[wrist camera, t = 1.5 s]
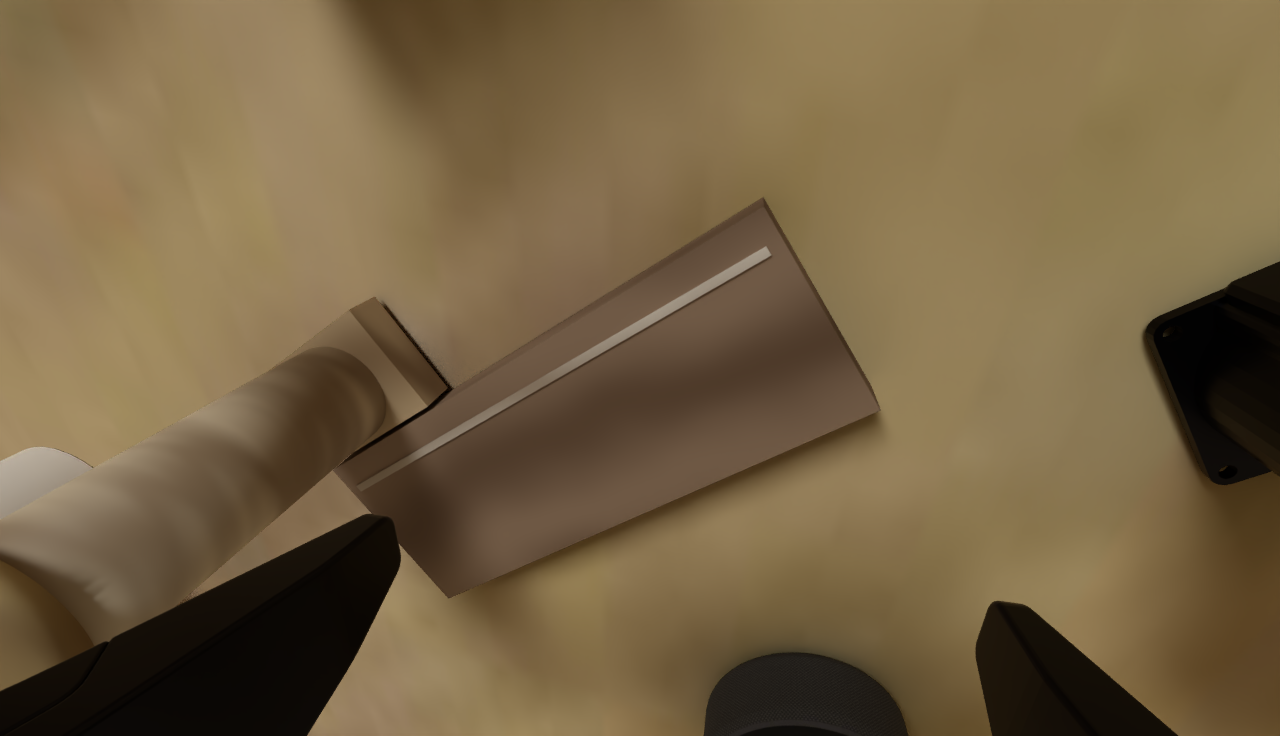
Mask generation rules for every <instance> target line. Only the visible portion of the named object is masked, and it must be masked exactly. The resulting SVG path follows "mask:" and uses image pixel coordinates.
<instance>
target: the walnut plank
mask: <svg viewBox="0 0 1280 736" xmlns="http://www.w3.org/2000/svg"><path fill="white" fill-rule="evenodd" d="M878 411H880V407H879V405H878V402H877V399H876V397H875V394H874V392H873V389H872V387H871V385H870V383H869V381H868V379H867V378H866V376H865V374H864V372H863V371H862V369H861V367H860V365H859V364H858V362H857V360H856V358H855V357H854V355H853V353H852V351H851V350H850V348H849V346H848V344H847V343H846V341H845V339H844V337H843V336H842V334H841V332H840V330H839V329H838V327H837V325H836V323H835V322H834V320H833V318H832V316H831V315H830V313H829V311H828V309H827V308H826V306H825V304H824V302H823V301H822V299H821V297H820V295H819V294H818V292H817V290H816V288H815V287H814V285H813V283H812V281H811V280H810V278H809V276H808V275H807V273H806V271H805V269H804V268H803V266H802V264H801V262H800V261H799V259H798V257H797V255H796V254H795V252H794V250H793V248H792V247H791V245H790V243H789V241H788V240H787V238H786V236H785V234H784V233H783V231H782V229H781V227H780V226H779V224H778V222H777V220H776V219H775V217H774V215H773V213H772V212H771V210H770V208H769V206H768V205H767V203H766V201H765V199H764V198H761V199H760V200H758V201H756V202H755V203H753V204H752V205H750V206H748V207H747V208H745V209H743V210H742V211H740V212H739V213H737V214H735V215H734V216H732V217H731V218H729V219H727V220H726V221H724V222H723V223H721V224H719V225H718V226H716V227H714V228H713V229H711V230H710V231H708V232H706V233H705V234H703V235H702V236H700V237H698V238H697V239H695V240H693V241H692V242H690V243H689V244H687V245H685V246H684V247H682V248H681V249H679V250H677V251H676V252H674V253H672V254H671V255H669V256H668V257H666V258H664V259H663V260H661V261H660V262H658V263H656V264H655V265H653V266H651V267H650V268H648V269H647V270H645V271H643V272H642V273H640V274H639V275H637V276H635V277H634V278H632V279H630V280H629V281H627V282H626V283H624V284H622V285H621V286H619V287H618V288H616V289H614V290H613V291H611V292H609V293H608V294H606V295H605V296H603V297H601V298H600V299H598V300H597V301H595V302H593V303H592V304H590V305H588V306H587V307H585V308H584V309H582V310H580V311H579V312H577V313H576V314H574V315H572V316H571V317H569V318H568V319H566V320H564V321H563V322H561V323H559V324H558V325H556V326H555V327H553V328H551V329H550V330H548V331H547V332H545V333H543V334H542V335H540V336H538V337H537V338H535V339H534V340H532V341H530V342H529V343H527V344H526V345H524V346H522V347H521V348H519V349H517V350H516V351H514V352H513V353H511V354H509V355H508V356H506V357H505V358H503V359H501V360H500V361H498V362H496V363H495V364H493V365H492V366H490V367H488V368H487V369H485V370H484V371H482V372H480V373H479V374H477V375H475V376H474V377H472V378H471V379H469V380H467V381H466V382H464V383H463V384H461V385H459V386H458V387H456V388H454V389H453V390H451V391H450V392H448V393H446V394H445V395H443V396H442V397H440V398H438V399H437V400H435V401H433V402H432V403H431V404H430V405H429V406H428V407H426V408H425V409H423V410H421V411H420V412H418V413H416V414H415V415H413V416H412V417H410V418H408V419H407V420H405V421H403V422H402V423H400V424H399V425H397V426H395V427H394V428H392V429H391V430H389V431H387V432H386V433H384V434H382V435H381V436H379V437H378V438H376V439H374V440H373V441H371V442H370V443H368V444H366V445H365V446H363V447H361V448H360V449H358V450H357V451H355V452H353V453H352V454H351V455H350V456H349V457H348V458H347V459H345V460H344V461H343V462H342V463H341V464H340V465H339V466H337V467H336V468H335V469H334V470H333V471H334V472H335V473H336V474H337V475H338V477H339V478H340V479H341V480H342V481H343V482H344V483H345V484H346V485H347V487H348V488H349V489H350V490H351V491H352V492H353V493H354V494H355V495H356V496H357V498H358V499H359V500H360V501H361V502H362V503H363V504H364V505H365V506H366V508H367V509H368V510H369V511H370V512H371V513H372V514H376V515H383V516H388V517H390V518H392V520H393V521H394V524H395V528H396V533H397V538H398V543H399V544H400V545H401V546H402V547H403V549H404V550H405V551H406V552H407V553H408V554H409V555H410V556H411V557H412V558H413V560H414V561H415V562H416V563H417V564H418V565H419V566H420V567H421V568H422V570H423V571H424V572H425V573H426V574H427V575H428V576H429V577H430V578H431V580H432V581H433V582H434V583H435V584H436V585H437V586H438V587H439V588H440V590H441V591H442V592H443V593H444V594H445V595H446V596H447V597H448V598H451V597H453V596H456V595H458V594H460V593H462V592H465V591H467V590H469V589H472V588H474V587H476V586H478V585H481V584H483V583H485V582H488V581H490V580H492V579H495V578H497V577H499V576H501V575H504V574H506V573H508V572H511V571H513V570H515V569H517V568H520V567H522V566H524V565H527V564H529V563H531V562H534V561H536V560H538V559H540V558H543V557H545V556H547V555H550V554H552V553H554V552H556V551H559V550H561V549H563V548H566V547H568V546H570V545H573V544H575V543H577V542H579V541H582V540H584V539H586V538H589V537H591V536H593V535H595V534H598V533H600V532H602V531H605V530H607V529H609V528H612V527H614V526H616V525H618V524H621V523H623V522H625V521H628V520H630V519H632V518H634V517H637V516H639V515H641V514H644V513H646V512H648V511H651V510H653V509H655V508H657V507H660V506H662V505H664V504H667V503H669V502H671V501H673V500H676V499H678V498H680V497H683V496H685V495H687V494H690V493H692V492H694V491H696V490H699V489H701V488H703V487H706V486H708V485H710V484H713V483H715V482H717V481H719V480H722V479H724V478H726V477H729V476H731V475H733V474H735V473H738V472H740V471H742V470H745V469H747V468H749V467H752V466H754V465H756V464H758V463H761V462H763V461H765V460H768V459H770V458H772V457H774V456H777V455H779V454H781V453H784V452H786V451H788V450H791V449H793V448H795V447H797V446H800V445H802V444H804V443H807V442H809V441H811V440H813V439H816V438H818V437H820V436H823V435H825V434H827V433H830V432H832V431H834V430H836V429H839V428H841V427H843V426H846V425H848V424H850V423H852V422H855V421H857V420H859V419H862V418H864V417H866V416H869V415H871V414H873V413H875V412H878Z"/></svg>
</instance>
